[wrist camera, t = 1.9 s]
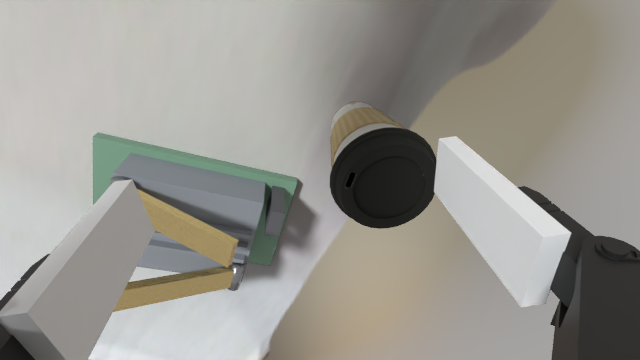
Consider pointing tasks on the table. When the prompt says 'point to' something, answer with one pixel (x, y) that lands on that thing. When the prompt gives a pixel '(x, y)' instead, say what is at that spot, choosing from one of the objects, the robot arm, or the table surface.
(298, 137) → the table surface
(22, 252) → the table surface
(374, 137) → the coffee cup
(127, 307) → the strap
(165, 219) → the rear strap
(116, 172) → the heatsink module
